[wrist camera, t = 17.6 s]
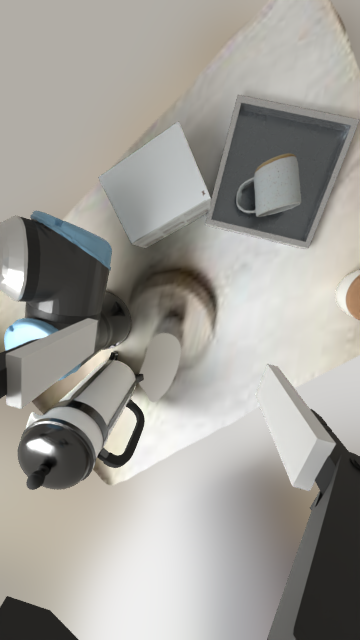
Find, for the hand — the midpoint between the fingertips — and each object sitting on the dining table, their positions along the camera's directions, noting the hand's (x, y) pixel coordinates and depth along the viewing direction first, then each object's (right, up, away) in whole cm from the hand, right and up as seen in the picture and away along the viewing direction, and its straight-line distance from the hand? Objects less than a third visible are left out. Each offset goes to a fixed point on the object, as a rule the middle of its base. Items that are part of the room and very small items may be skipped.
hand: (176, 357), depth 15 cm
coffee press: (-16, -13, +42) cm, 47 cm away
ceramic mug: (+18, +31, +25) cm, 44 cm away
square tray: (+19, +31, +26) cm, 45 cm away
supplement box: (-3, +29, +29) cm, 41 cm away
